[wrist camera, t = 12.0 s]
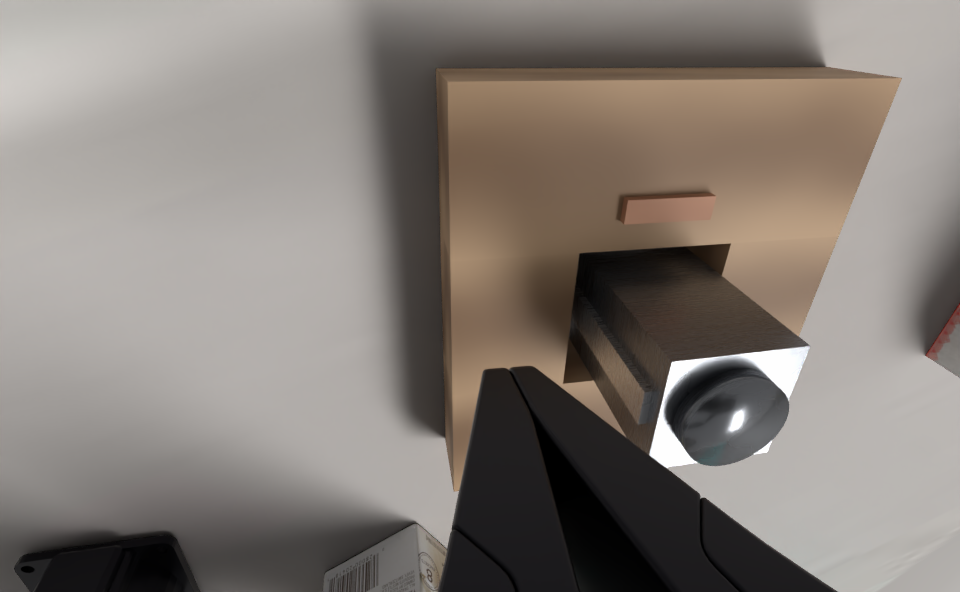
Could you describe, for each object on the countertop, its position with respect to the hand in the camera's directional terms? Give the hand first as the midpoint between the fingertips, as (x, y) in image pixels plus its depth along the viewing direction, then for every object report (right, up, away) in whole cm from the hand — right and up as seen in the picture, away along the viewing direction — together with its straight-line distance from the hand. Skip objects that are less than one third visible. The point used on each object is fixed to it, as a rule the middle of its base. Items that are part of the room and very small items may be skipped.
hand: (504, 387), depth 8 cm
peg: (+5, +2, +13) cm, 14 cm away
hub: (+5, +2, +13) cm, 14 cm away
